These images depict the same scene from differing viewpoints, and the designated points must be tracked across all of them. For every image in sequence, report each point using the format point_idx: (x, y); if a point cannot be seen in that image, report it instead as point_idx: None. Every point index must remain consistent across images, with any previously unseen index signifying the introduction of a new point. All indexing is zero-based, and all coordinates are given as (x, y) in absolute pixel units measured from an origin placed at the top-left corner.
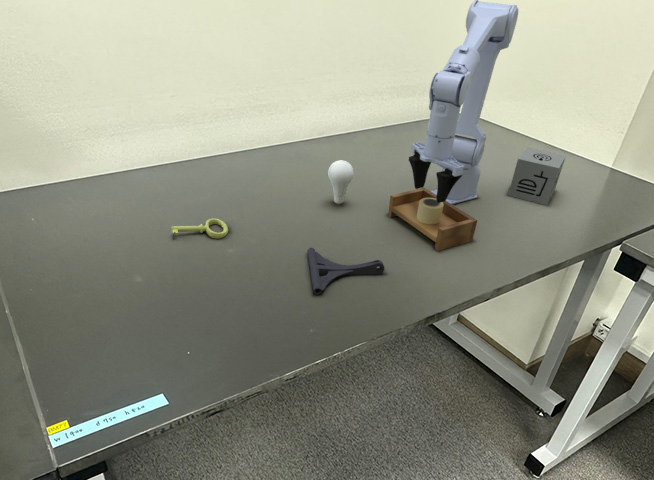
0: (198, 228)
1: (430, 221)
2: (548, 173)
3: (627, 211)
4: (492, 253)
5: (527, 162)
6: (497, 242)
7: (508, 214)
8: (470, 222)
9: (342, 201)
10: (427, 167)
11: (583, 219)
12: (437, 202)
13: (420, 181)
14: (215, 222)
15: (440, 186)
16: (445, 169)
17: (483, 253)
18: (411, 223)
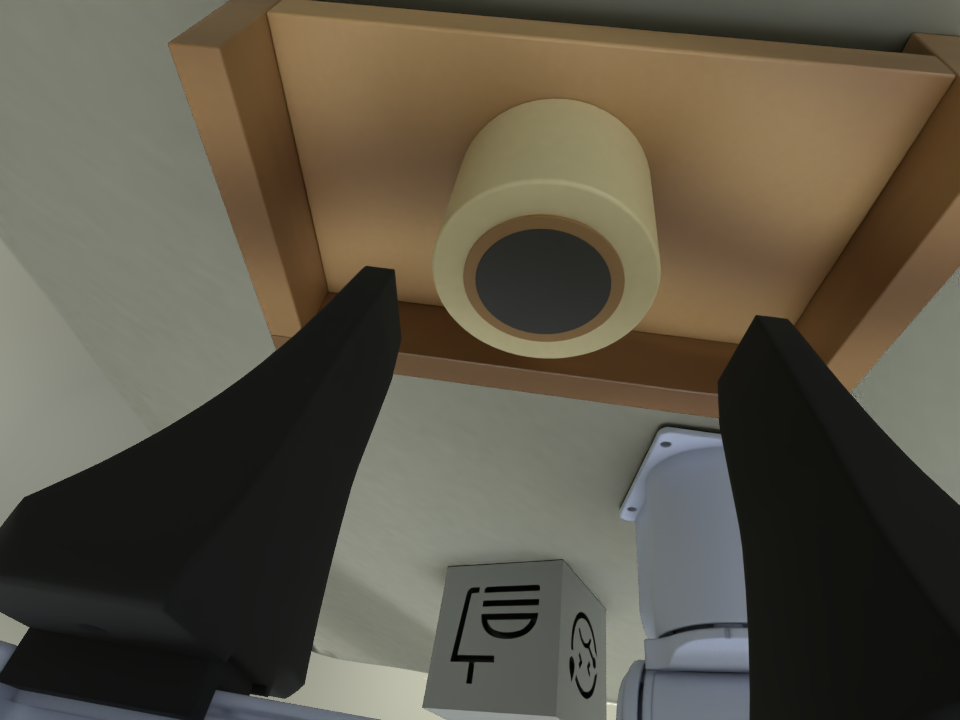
0: None
1: (471, 148)
2: (451, 678)
3: (342, 609)
4: (191, 252)
5: (520, 707)
6: None
7: (459, 490)
8: (264, 314)
9: None
10: (758, 609)
11: (341, 559)
12: (510, 318)
13: (754, 411)
14: None
15: (238, 402)
16: (172, 704)
17: (196, 218)
18: (617, 31)
